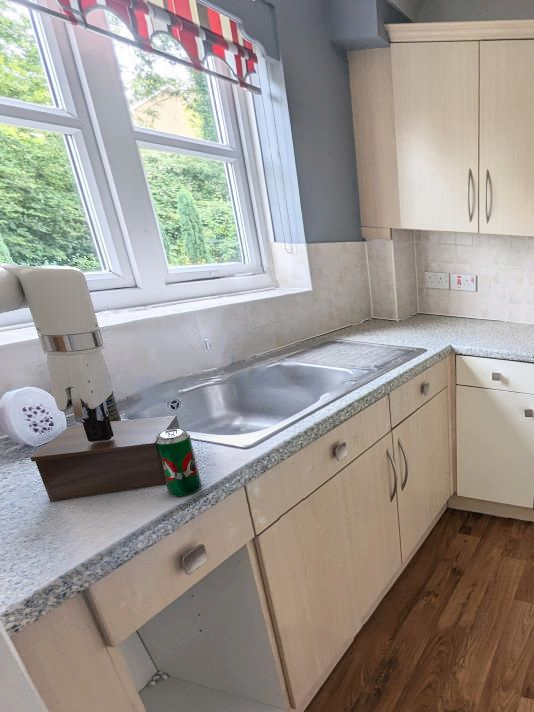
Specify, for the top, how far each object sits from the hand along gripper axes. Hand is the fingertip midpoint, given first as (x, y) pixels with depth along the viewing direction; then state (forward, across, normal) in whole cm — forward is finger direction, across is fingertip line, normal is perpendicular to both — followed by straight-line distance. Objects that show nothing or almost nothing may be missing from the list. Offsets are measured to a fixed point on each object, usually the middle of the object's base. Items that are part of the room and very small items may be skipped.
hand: (101, 439), depth 83 cm
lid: (+1, -3, 0) cm, 4 cm away
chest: (+10, -4, 0) cm, 10 cm away
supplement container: (+10, -31, -10) cm, 34 cm away
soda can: (+10, +7, +12) cm, 17 cm away
